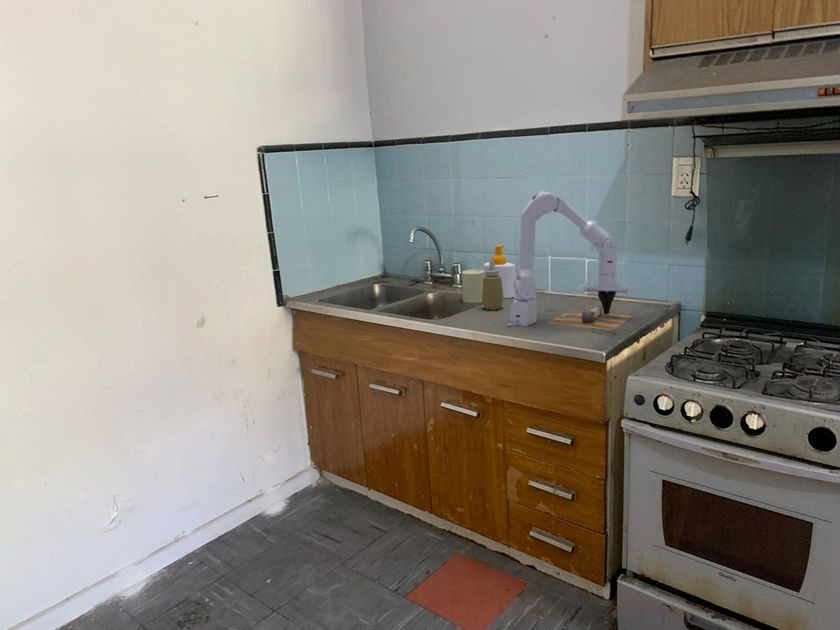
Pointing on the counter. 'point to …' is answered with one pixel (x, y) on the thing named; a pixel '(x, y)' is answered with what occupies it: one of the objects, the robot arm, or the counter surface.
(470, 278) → the can
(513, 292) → the soap bottle
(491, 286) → the squeeze bottle
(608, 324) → the board
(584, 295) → the counter surface
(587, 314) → the peg
